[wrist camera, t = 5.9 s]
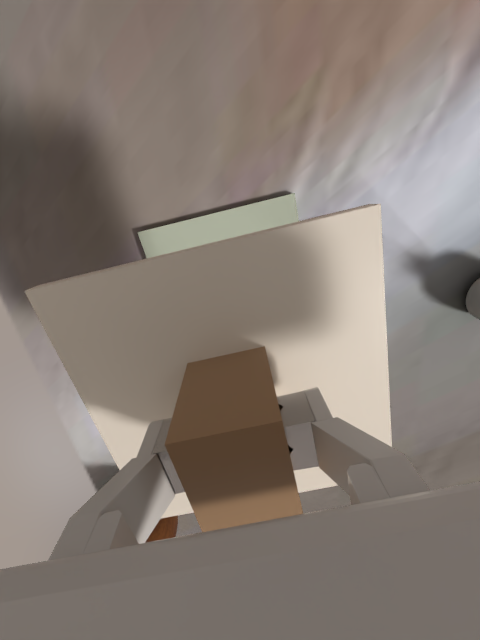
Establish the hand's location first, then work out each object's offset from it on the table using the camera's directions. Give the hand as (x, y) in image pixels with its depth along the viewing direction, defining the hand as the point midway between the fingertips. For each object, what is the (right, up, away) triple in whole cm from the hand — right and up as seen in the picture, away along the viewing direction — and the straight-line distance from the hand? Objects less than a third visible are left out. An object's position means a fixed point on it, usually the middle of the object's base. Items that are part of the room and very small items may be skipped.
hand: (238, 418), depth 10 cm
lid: (0, +1, +2) cm, 2 cm away
